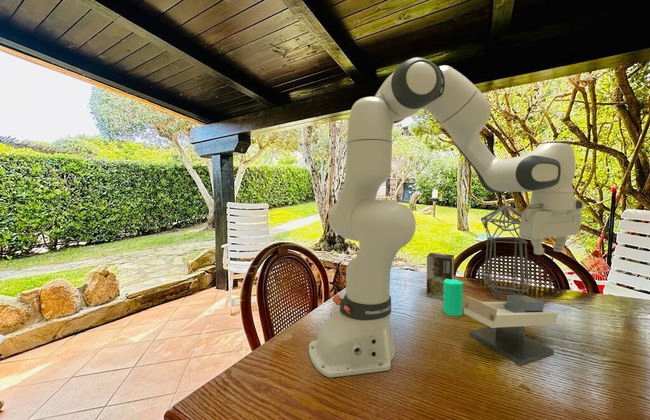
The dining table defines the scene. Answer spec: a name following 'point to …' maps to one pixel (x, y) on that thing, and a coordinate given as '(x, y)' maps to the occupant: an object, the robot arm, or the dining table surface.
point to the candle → (452, 297)
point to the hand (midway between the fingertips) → (548, 252)
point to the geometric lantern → (485, 222)
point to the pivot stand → (512, 343)
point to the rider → (523, 304)
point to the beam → (505, 315)
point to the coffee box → (438, 273)
